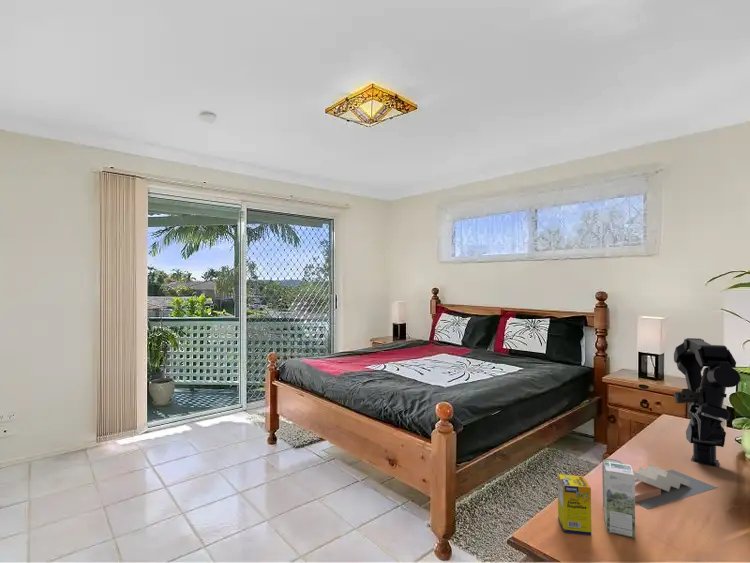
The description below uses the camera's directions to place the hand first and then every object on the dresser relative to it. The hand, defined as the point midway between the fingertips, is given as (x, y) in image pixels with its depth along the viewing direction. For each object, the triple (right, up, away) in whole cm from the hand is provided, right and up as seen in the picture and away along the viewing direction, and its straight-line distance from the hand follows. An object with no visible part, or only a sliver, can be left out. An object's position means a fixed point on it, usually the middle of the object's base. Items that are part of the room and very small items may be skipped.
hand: (701, 440), depth 118 cm
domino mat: (-15, -12, -5) cm, 20 cm away
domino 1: (-15, -10, -5) cm, 19 cm away
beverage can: (-34, -12, -15) cm, 39 cm away
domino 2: (-12, -10, -3) cm, 16 cm away
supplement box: (-47, -12, -22) cm, 53 cm away
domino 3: (-8, -10, -2) cm, 13 cm away
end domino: (-19, -10, -6) cm, 22 cm away
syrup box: (-37, -12, -23) cm, 45 cm away
